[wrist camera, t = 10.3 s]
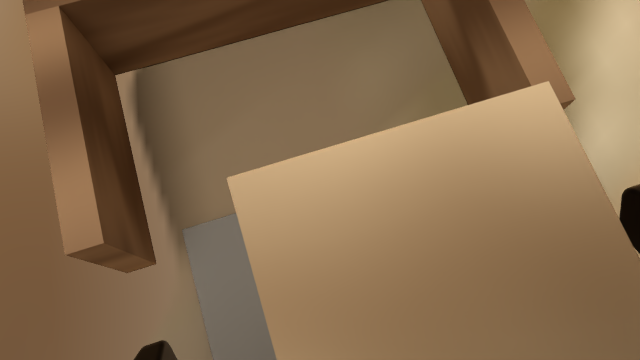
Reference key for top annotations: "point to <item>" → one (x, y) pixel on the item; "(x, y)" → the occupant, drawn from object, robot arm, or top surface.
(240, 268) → the slate mat
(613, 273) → the ash block
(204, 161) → the top surface
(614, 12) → the top surface
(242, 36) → the walnut crate
